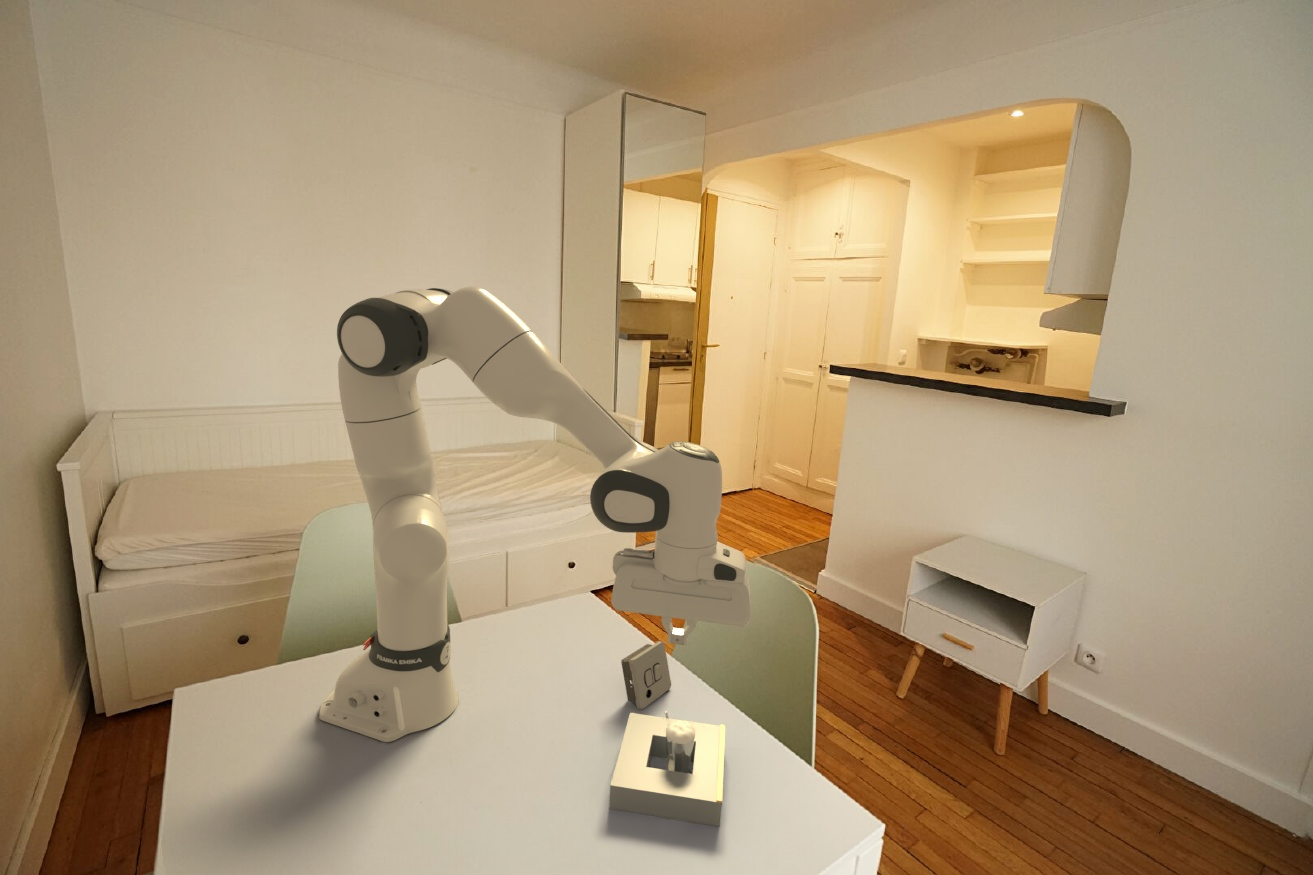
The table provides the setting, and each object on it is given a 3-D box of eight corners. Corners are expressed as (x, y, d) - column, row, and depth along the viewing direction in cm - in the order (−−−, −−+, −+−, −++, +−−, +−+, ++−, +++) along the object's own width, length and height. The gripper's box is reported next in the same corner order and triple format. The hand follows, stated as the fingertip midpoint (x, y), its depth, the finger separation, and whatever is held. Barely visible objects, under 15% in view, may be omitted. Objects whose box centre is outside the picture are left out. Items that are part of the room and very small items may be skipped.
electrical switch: (640, 712, 110) (639, 664, 108) (619, 702, 113) (617, 655, 111) (672, 688, 117) (671, 643, 115) (651, 679, 120) (650, 635, 119)
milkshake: (670, 758, 99) (674, 704, 97) (697, 776, 96) (702, 720, 93) (652, 774, 96) (656, 718, 93) (679, 792, 92) (684, 735, 90)
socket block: (609, 808, 89) (610, 783, 88) (628, 733, 104) (630, 711, 103) (719, 826, 87) (722, 800, 86) (723, 747, 102) (725, 724, 101)
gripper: (609, 555, 86) (604, 643, 89) (756, 573, 83) (745, 663, 86) (618, 538, 92) (613, 622, 95) (755, 555, 89) (745, 640, 92)
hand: (677, 642), depth 91 cm, fingers closed
